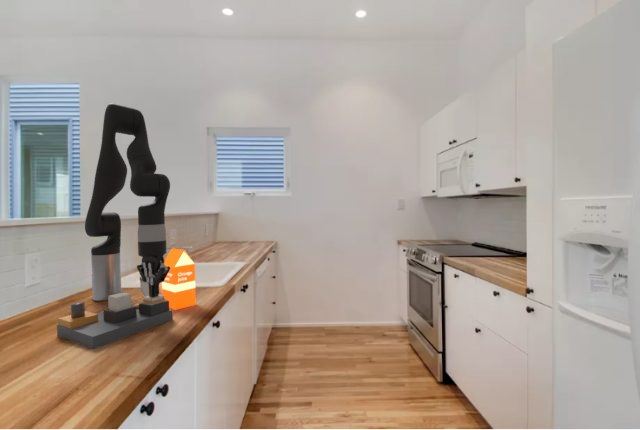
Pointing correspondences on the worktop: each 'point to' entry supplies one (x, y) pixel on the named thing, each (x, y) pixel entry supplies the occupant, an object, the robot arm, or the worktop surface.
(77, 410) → the worktop surface
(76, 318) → the cap
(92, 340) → the breaker panel
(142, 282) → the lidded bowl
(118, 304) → the breaker plain
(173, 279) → the orange juice
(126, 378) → the worktop surface
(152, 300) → the breaker tagged
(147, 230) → the robot arm
